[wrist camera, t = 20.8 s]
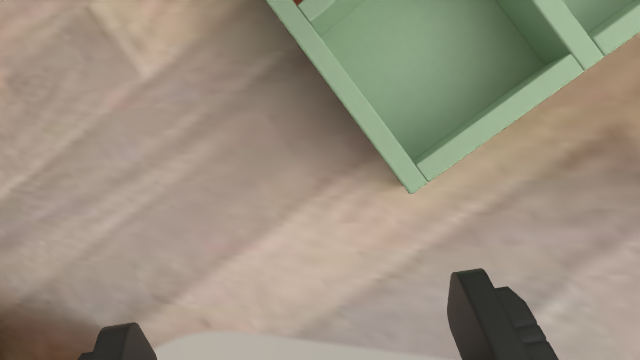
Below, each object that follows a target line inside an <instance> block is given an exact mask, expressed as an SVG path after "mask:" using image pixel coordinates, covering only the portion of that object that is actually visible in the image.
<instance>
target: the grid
mask: <svg viewBox="0 0 640 360" xmlns="http://www.w3.org/2000/svg"><path fill="white" fill-rule="evenodd" d="M266 2H267V3H268V4H269V6H270V7H271V9H272V10H273V11H274V13H275V14H276V15H277V17H278V18H279V19H280V21H281V22H282V23H283V25H284V26H285V27H286V29H287V30H288V31H289V33H290V34H291V35H292V37H293V38H294V39H295V41H296V42H297V43H298V45H299V46H300V47H301V49H302V50H303V52H304V53H305V54H306V56H307V57H308V58H309V60H310V61H311V62H312V64H313V65H314V66H315V68H316V69H317V70H318V72H319V73H320V74H321V76H322V77H323V78H324V80H325V81H326V82H327V84H328V85H329V86H330V88H331V89H332V91H333V92H334V93H335V95H336V96H337V97H338V99H339V100H340V101H341V103H342V104H343V105H344V107H345V108H346V109H347V111H348V112H349V113H350V115H351V116H352V117H353V119H354V120H355V121H356V123H357V124H358V125H359V127H360V128H361V130H362V131H363V132H364V134H365V135H366V136H367V138H368V139H369V140H370V142H371V143H372V144H373V146H374V147H375V148H376V150H377V151H378V152H379V154H380V155H381V156H382V158H383V159H384V160H385V162H386V163H387V164H388V166H389V167H390V168H391V170H392V171H393V173H394V174H395V175H396V177H397V178H398V179H399V181H400V182H401V183H402V185H403V186H404V187H405V189H406V190H407V191H408V193H409V194H413V193H414V192H416V191H417V190H418V189H420V188H421V187H423V186H424V185H425V184H426V183H427V181H428V182H430V181H431V180H433V179H434V178H436V177H437V176H438V175H440V174H441V173H443V172H444V171H445V170H447V169H448V168H450V167H451V166H452V165H454V164H455V163H457V162H458V161H459V160H461V159H462V158H464V157H465V156H466V155H468V154H469V153H471V152H472V151H473V150H475V149H476V148H478V147H479V146H481V145H482V144H483V143H485V142H486V141H488V140H489V139H490V138H492V137H493V136H495V135H496V134H497V133H499V132H500V131H502V130H503V129H504V128H506V127H507V126H509V125H510V124H511V123H513V122H514V121H516V120H517V119H518V118H520V117H521V116H523V115H524V114H525V113H527V112H528V111H530V110H531V109H532V108H534V107H535V106H537V105H538V104H539V103H541V102H542V101H544V100H545V99H547V98H548V97H549V96H551V95H552V94H554V93H555V92H556V91H558V90H559V89H561V88H562V87H563V86H565V85H566V84H568V83H569V82H570V81H572V80H573V79H575V78H576V77H577V76H579V75H580V74H582V73H583V72H584V71H585V70H587V69H588V68H590V67H591V66H593V65H594V64H595V63H597V62H598V61H600V60H601V59H602V58H603V57H604V56H607V55H608V54H609V53H611V52H612V51H614V50H615V49H616V48H618V47H619V46H621V45H622V44H623V43H625V42H626V41H628V40H629V39H631V38H632V37H633V36H635V35H636V34H638V33H639V32H640V0H266Z"/></svg>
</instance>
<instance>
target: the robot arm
mask: <svg viewBox="0 0 640 360" xmlns="http://www.w3.org/2000/svg"><path fill="white" fill-rule="evenodd" d="M447 315H448V321H449V325H450V329H451V332H452V335H453V337H454V340H455V342H456V345H457V347H458V350H459V352H460V355H461V358H462V360H559V359H558V358H557V356H556V354H555V352H554V351H553V349H552V347H551V345H550V344H549V342H547V341H546V337H545V335H544V333H543V332H542V330H541V328H540V326H539V325H537V321H536V319H535V318H534V316H533V314H532V313H531V311H530V309H529V307H528V306H527V304H526V302H525V301H524V300H522V299H521V298H520V297H519V296H518V295H517V294H516V293H514V292H513V291H512V290H511V289H510V288H509V287H508V286H507V287H501V288H494V286H493V285H492V283H491V281H490V279H489V277H488V275H487V273H486V272H485V271H484V270H483V269H482V268H479V269H473V270H466V271H460V272H453V273H452V274H451V280H450V288H449V296H448V305H447ZM78 360H157V357H156V354H155V352H154V351H153V349H152V347H151V346H150V344H149V342H148V340H147V339H146V337H145V335H144V334H143V332H142V330H141V328H140V327H139V325H138V324H137V323H135V322H134V323H127V324H121V325H114V326H107V327H104V328H102V330H101V331H100V333H99V335H98V338H97V341H96V344H95V347H94V350H93V352H88V353H82V354H81V355H80V357H79V358H78Z"/></svg>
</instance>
